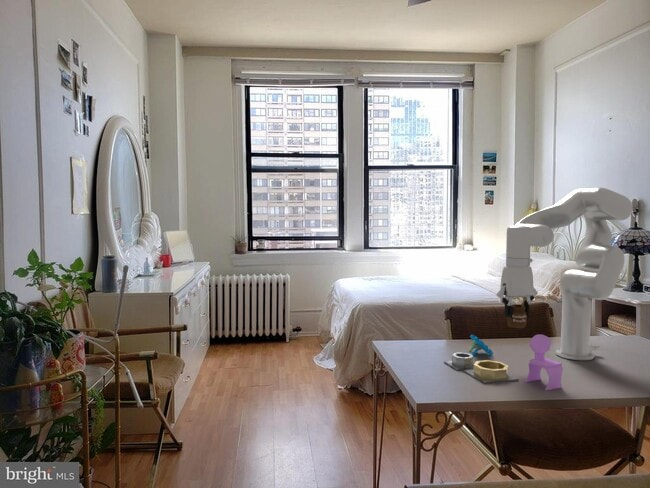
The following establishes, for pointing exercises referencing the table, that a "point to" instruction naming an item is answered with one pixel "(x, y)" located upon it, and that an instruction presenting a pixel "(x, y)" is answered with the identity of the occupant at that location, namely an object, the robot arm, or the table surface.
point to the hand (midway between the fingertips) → (516, 315)
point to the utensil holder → (518, 316)
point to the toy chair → (544, 363)
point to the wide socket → (491, 372)
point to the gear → (479, 346)
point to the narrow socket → (461, 361)
